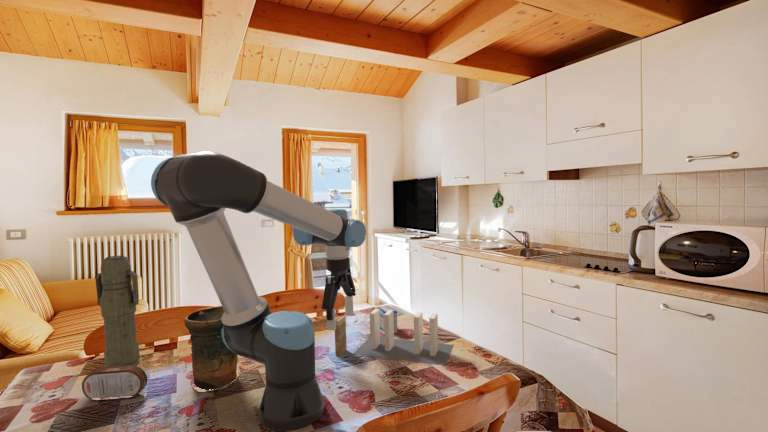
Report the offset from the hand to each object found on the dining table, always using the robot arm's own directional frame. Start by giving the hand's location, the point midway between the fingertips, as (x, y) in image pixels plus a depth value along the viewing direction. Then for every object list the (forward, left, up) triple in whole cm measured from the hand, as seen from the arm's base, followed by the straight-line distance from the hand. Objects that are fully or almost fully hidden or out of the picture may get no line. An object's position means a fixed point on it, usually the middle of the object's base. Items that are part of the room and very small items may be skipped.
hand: (341, 322), depth 128 cm
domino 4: (+8, -29, -10) cm, 32 cm away
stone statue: (-28, +61, -11) cm, 68 cm away
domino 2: (+8, -14, -10) cm, 19 cm away
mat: (+8, -19, -11) cm, 23 cm away
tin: (-42, +46, -11) cm, 63 cm away
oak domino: (0, 0, -11) cm, 11 cm away
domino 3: (+8, -24, -10) cm, 27 cm away
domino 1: (+8, -9, -10) cm, 15 cm away
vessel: (-26, +27, -11) cm, 39 cm away
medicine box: (+24, -8, -11) cm, 27 cm away
